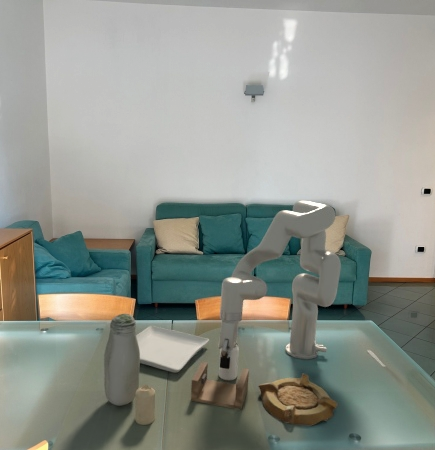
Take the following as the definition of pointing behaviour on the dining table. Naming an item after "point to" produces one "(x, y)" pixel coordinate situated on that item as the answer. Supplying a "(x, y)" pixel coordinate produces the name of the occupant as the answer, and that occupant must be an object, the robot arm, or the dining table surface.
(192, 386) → the holder
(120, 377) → the gray bottle
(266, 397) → the ashtray
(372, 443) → the dining table surface
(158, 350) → the square plate
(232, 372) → the can
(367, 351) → the butter knife
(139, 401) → the candle
